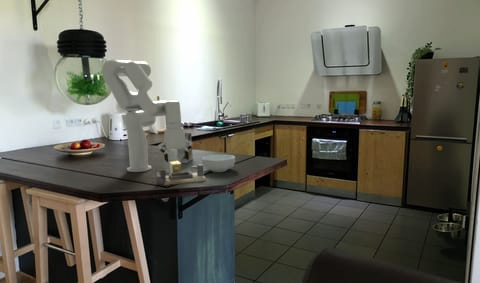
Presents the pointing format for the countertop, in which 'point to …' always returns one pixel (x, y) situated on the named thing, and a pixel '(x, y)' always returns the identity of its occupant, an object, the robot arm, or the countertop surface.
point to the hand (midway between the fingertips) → (176, 160)
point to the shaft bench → (180, 176)
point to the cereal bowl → (218, 162)
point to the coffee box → (181, 151)
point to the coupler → (175, 167)
